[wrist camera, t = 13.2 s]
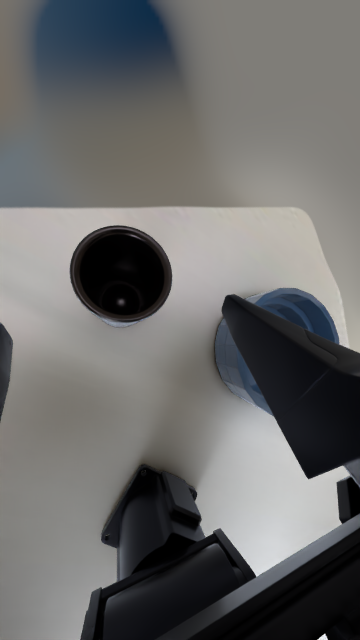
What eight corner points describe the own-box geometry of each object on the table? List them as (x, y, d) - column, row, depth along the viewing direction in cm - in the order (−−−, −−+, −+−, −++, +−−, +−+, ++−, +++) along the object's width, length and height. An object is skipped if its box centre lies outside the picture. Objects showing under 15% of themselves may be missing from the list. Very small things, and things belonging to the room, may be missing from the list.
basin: (275, 420, 23) (311, 440, 19) (192, 367, 21) (212, 376, 17) (315, 332, 26) (355, 332, 22) (246, 275, 23) (275, 262, 19)
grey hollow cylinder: (153, 294, 20) (188, 259, 10) (130, 335, 19) (145, 340, 9) (110, 269, 19) (103, 204, 9) (84, 312, 18) (46, 290, 8)
